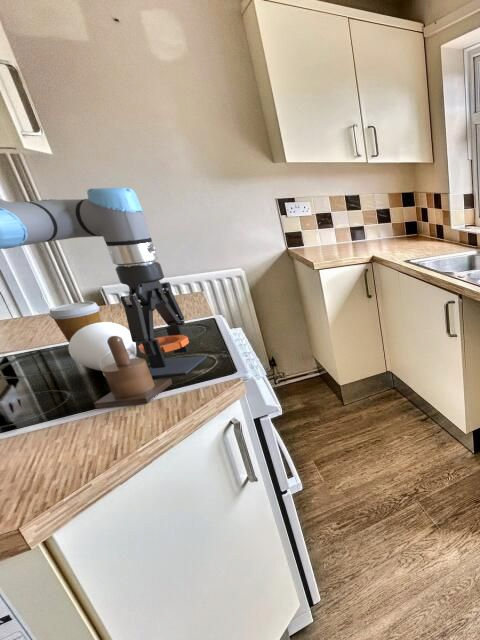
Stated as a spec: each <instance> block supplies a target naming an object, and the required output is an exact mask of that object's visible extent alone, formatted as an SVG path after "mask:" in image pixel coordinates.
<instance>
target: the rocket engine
mask: <svg viewBox="0 0 480 640" xmlns="http://www.w3.org/2000/svg"><path fill="white" fill-rule="evenodd" d="M111 336H119V337H120V338H122V340H123V343H124V345H125V348H126V350H127V353H128V356H129V358H130V359H133V358H139V357H138V356H137V343H136V342H132V339H131V335H130V330H129V328H126V327H125V326H124V325H122V324H119V323H116V322H111V321H101V322H100V323H94V324H90V325H88V326H85V327H83V328H82V329H80V330H78V331H77V332H76V333H75V334H74V335H73V336H72V338H71V340H70V342H68V347H67V348H68V353H69V355H70V357H71V359H73V361H74V362H76V363H77V364H78V365H81V366H83V367H86V368H89V369H90V370H91V369H92V370H96V371H99V372H102V374H103V377H105V375H104V373H103V370H102V369H103V368H104V367H105V366H107V365H109V364H112V363H115V360H114V357H113V355H112V353H111V350H110V348H109V345H108V343H107V340H108V338H110V337H111Z"/></svg>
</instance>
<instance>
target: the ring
mask: <svg viewBox="0 0 480 640" xmlns="http://www.w3.org/2000/svg"><path fill="white" fill-rule="evenodd" d="M155 339H158V342H159V344H160V347H161V350H162V353H163V354H164V353H169V352H172V351H173V352H174V350H176V349H180V348H182V347H184V346H185V345H189V343H190V341H189V337H188V336H187V335H184V334H183V335H171V336H168V335H166V336H159V337H154V340H155ZM172 342H173V343H172ZM138 350H139V352H140V353H142V354H144V355H146V353H145V350H144V347H143V345H142V343H140V344H139V345H138Z"/></svg>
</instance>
